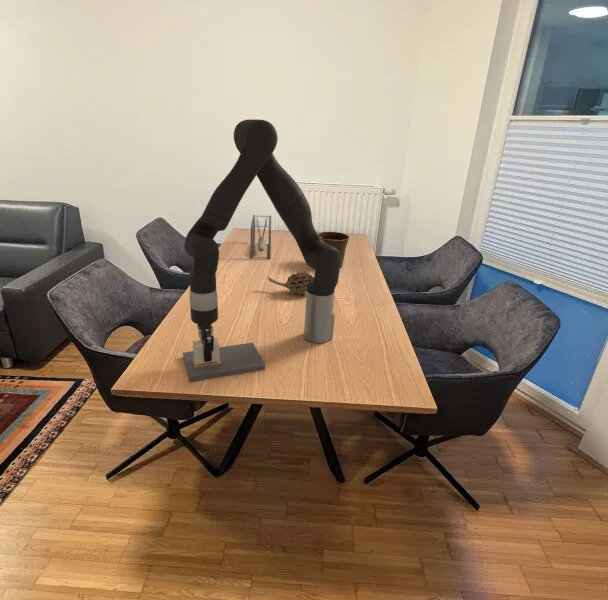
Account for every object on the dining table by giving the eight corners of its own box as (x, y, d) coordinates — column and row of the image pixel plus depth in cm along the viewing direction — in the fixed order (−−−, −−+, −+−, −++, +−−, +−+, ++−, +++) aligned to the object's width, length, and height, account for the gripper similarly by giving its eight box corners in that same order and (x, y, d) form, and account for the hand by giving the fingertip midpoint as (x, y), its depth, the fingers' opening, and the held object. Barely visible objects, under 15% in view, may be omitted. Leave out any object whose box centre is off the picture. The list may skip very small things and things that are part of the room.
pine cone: (317, 290, 182) (318, 269, 178) (315, 299, 173) (316, 277, 169) (267, 286, 183) (268, 265, 179) (263, 294, 175) (264, 272, 171)
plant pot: (347, 271, 207) (350, 240, 201) (315, 270, 207) (317, 238, 201) (345, 261, 222) (348, 232, 215) (315, 260, 222) (317, 230, 215)
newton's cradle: (253, 243, 245) (253, 214, 238) (270, 244, 246) (271, 214, 238) (250, 259, 217) (250, 226, 210) (270, 260, 218) (271, 227, 211)
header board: (252, 346, 134) (252, 331, 132) (265, 369, 122) (265, 352, 120) (183, 356, 126) (182, 340, 124) (189, 382, 115) (188, 365, 112)
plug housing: (217, 353, 125) (216, 338, 122) (219, 360, 121) (219, 344, 119) (193, 357, 122) (192, 341, 120) (195, 364, 119) (194, 348, 116)
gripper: (222, 313, 110) (224, 367, 117) (212, 293, 122) (214, 343, 129) (194, 316, 107) (197, 372, 114) (186, 295, 119) (190, 347, 126)
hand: (206, 356), depth 121 cm, fingers closed on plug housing, 4 cm apart
